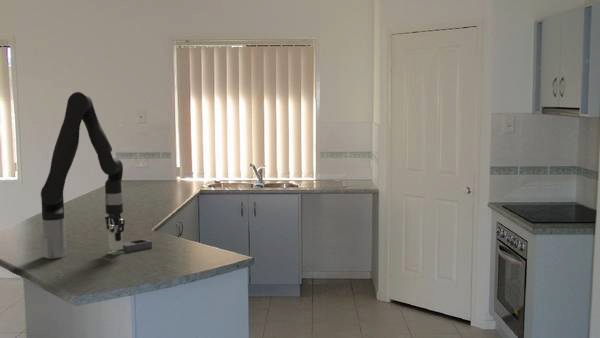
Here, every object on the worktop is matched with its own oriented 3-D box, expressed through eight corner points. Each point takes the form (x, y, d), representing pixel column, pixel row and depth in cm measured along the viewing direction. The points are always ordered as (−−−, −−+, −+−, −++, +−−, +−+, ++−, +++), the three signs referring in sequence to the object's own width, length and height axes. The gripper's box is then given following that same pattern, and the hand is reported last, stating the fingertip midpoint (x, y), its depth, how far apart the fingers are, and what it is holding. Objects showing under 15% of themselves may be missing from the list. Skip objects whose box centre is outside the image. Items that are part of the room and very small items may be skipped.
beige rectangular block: (114, 250, 293) (113, 232, 292) (109, 249, 296) (108, 231, 295) (123, 248, 296) (122, 231, 295) (118, 247, 299) (117, 230, 298)
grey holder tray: (127, 253, 296) (126, 246, 296) (118, 250, 302) (118, 243, 301) (152, 248, 305) (151, 241, 305) (143, 246, 311) (142, 239, 310)
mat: (113, 255, 292) (113, 254, 292) (107, 253, 296) (106, 252, 296) (125, 253, 296) (125, 252, 296) (118, 251, 300) (118, 250, 300)
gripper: (98, 202, 296) (100, 239, 298) (114, 205, 286) (116, 243, 288) (113, 200, 301) (115, 236, 303) (129, 203, 291) (131, 241, 293)
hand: (115, 240), depth 296 cm, fingers closed on beige rectangular block, 4 cm apart
